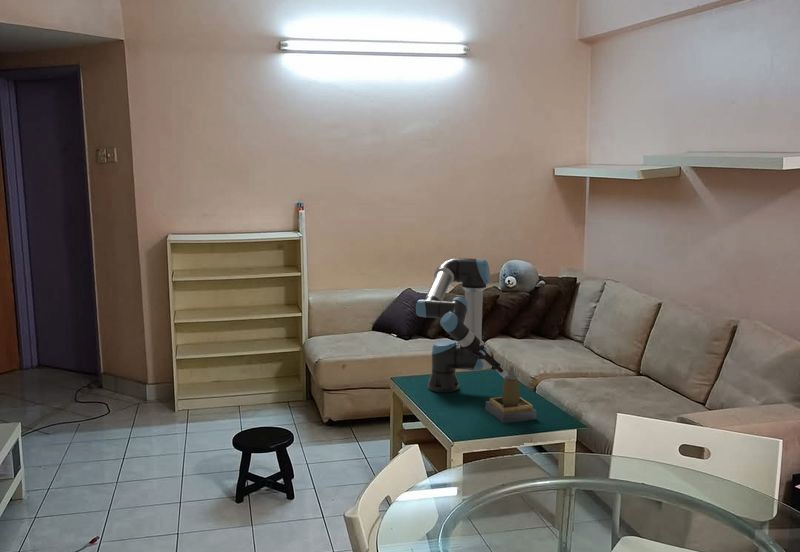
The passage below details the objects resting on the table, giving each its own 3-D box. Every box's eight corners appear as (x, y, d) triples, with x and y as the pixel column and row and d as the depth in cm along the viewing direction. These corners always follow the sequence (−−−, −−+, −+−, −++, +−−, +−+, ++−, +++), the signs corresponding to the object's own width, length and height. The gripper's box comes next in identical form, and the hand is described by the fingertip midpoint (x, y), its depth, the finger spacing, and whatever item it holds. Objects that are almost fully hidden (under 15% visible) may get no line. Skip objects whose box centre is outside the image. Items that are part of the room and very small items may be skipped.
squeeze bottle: (519, 409, 345) (520, 370, 341) (500, 408, 346) (501, 368, 343) (520, 403, 352) (521, 364, 349) (502, 402, 354) (503, 363, 351)
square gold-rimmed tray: (485, 409, 356) (485, 397, 355) (516, 406, 361) (517, 393, 360) (503, 423, 339) (503, 410, 338) (536, 419, 344) (536, 406, 343)
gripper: (450, 340, 347) (480, 369, 355) (475, 355, 324) (506, 386, 332) (461, 327, 348) (491, 357, 356) (487, 341, 325) (517, 373, 333)
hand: (498, 371), depth 344 cm, fingers open, 13 cm apart
